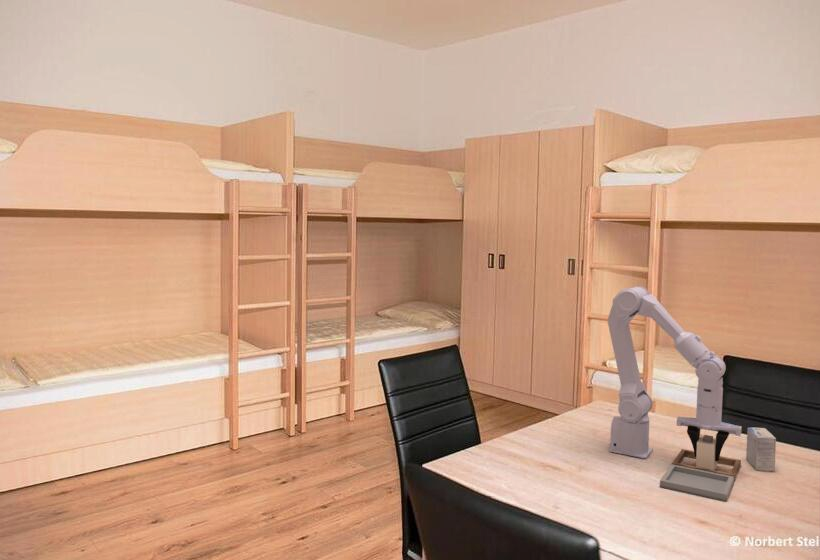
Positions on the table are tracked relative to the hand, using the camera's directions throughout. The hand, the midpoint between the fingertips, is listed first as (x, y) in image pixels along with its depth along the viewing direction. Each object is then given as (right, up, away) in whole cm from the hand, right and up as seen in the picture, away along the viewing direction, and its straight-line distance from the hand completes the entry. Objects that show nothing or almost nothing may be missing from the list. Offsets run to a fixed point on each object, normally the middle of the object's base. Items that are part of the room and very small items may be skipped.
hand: (706, 458), depth 160 cm
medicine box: (+14, -3, +2) cm, 14 cm away
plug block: (0, -2, 0) cm, 2 cm away
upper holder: (0, -2, 0) cm, 2 cm away
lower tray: (-7, -3, -11) cm, 13 cm away
